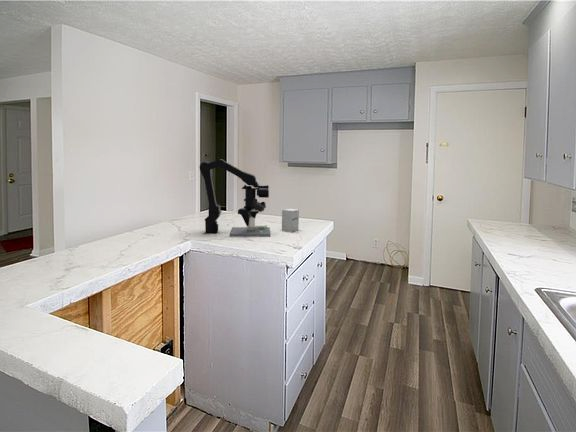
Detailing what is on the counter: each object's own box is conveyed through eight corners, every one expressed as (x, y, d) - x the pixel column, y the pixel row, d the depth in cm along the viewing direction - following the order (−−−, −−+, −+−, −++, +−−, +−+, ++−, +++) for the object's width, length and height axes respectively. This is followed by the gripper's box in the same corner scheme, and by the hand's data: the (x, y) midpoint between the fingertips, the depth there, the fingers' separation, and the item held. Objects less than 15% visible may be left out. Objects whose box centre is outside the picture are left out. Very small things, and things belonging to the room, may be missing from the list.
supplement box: (291, 232, 212) (291, 210, 209) (281, 230, 216) (281, 209, 214) (298, 230, 218) (299, 209, 215) (288, 228, 222) (289, 207, 220)
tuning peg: (248, 231, 204) (248, 218, 203) (245, 229, 210) (245, 216, 208) (269, 230, 209) (269, 217, 208) (265, 227, 215) (265, 215, 213)
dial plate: (229, 236, 199) (229, 231, 199) (232, 229, 216) (232, 225, 215) (270, 236, 201) (270, 231, 200) (269, 229, 217) (269, 225, 217)
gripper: (256, 200, 193) (255, 229, 196) (270, 196, 210) (269, 223, 213) (237, 198, 197) (237, 227, 200) (252, 194, 214) (252, 221, 217)
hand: (250, 224), depth 208 cm, fingers closed on tuning peg, 6 cm apart
